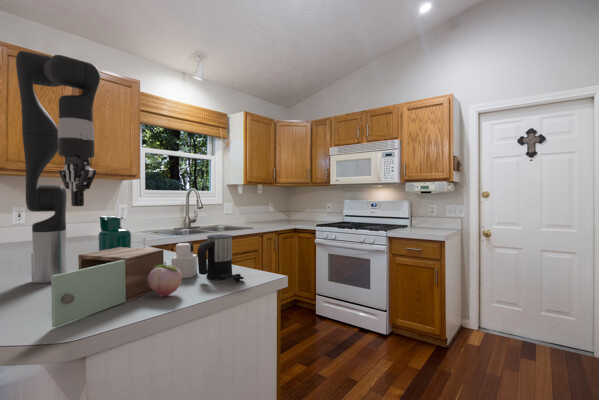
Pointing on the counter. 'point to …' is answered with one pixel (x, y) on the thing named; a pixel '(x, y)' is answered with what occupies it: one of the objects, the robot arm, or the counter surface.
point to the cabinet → (128, 266)
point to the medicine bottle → (185, 259)
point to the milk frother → (217, 258)
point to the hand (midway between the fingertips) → (77, 206)
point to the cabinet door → (87, 291)
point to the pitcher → (113, 233)
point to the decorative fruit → (164, 279)
